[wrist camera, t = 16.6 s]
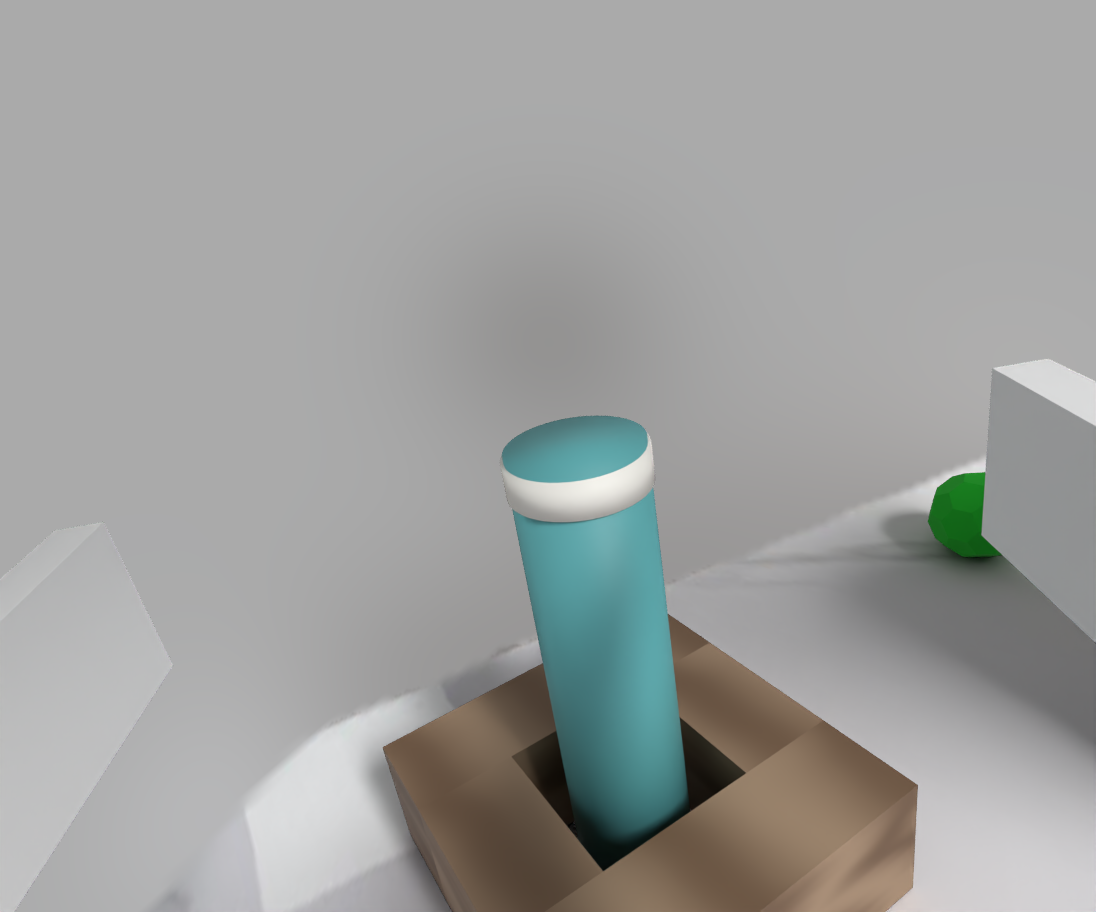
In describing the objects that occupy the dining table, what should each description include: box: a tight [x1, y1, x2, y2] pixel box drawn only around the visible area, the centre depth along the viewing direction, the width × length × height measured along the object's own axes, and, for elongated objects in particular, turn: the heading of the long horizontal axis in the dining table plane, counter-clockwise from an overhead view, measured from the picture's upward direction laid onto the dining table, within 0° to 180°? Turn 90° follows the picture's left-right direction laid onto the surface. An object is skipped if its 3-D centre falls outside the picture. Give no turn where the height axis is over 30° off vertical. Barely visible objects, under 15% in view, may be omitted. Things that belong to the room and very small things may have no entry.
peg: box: [500, 416, 690, 871], centre depth 27 cm, size 5×5×18 cm
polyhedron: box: [928, 472, 1002, 557], centre depth 44 cm, size 5×5×5 cm
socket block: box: [383, 614, 918, 912], centre depth 29 cm, size 14×14×5 cm
